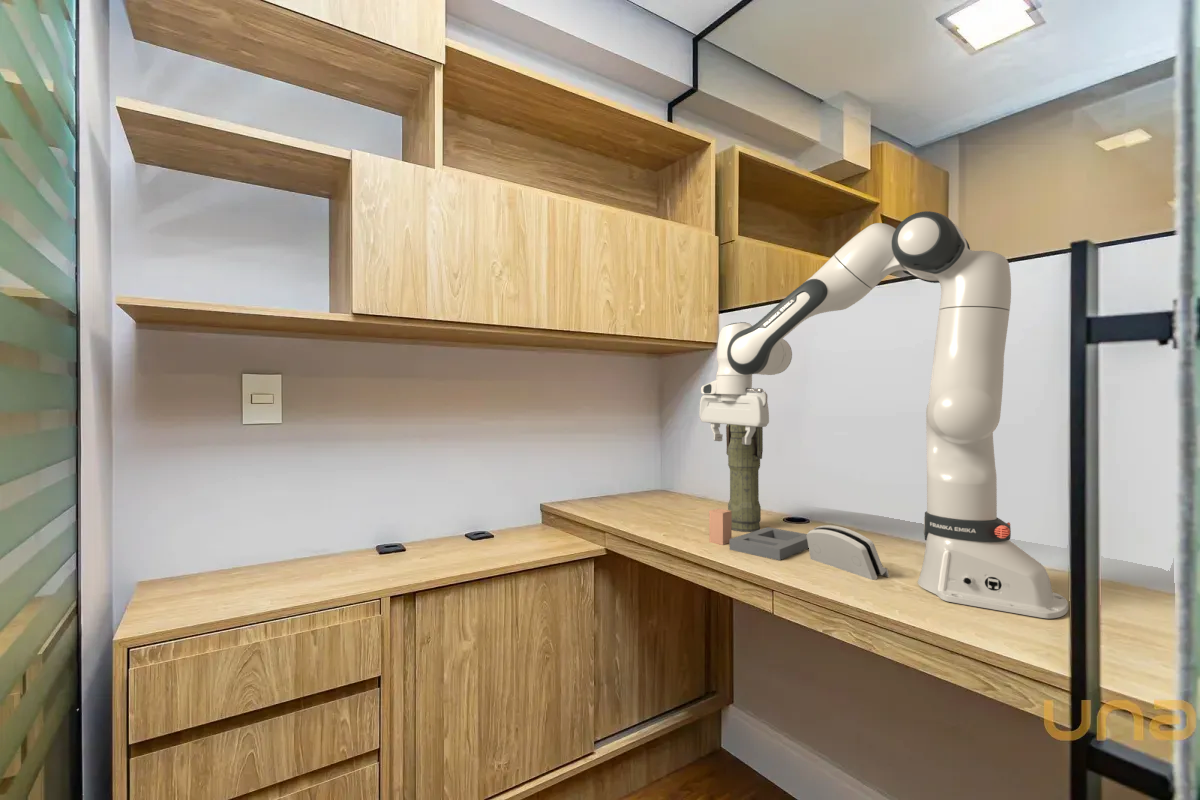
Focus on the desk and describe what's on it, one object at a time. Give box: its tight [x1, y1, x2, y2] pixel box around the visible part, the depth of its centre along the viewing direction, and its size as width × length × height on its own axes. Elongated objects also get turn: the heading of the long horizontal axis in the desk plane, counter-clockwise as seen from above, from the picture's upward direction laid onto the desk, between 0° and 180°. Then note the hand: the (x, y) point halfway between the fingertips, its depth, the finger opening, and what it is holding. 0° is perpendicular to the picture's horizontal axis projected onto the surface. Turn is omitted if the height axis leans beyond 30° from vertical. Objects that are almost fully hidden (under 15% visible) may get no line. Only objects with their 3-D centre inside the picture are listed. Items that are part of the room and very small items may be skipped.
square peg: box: [708, 508, 733, 546], centre depth 139 cm, size 4×4×8 cm
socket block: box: [729, 526, 809, 561], centre depth 134 cm, size 13×18×2 cm
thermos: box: [725, 424, 764, 533], centre depth 155 cm, size 9×12×35 cm
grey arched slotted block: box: [806, 524, 890, 581], centre depth 117 cm, size 17×5×10 cm, turn 25°
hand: (731, 442), depth 138 cm, fingers open, 8 cm apart
